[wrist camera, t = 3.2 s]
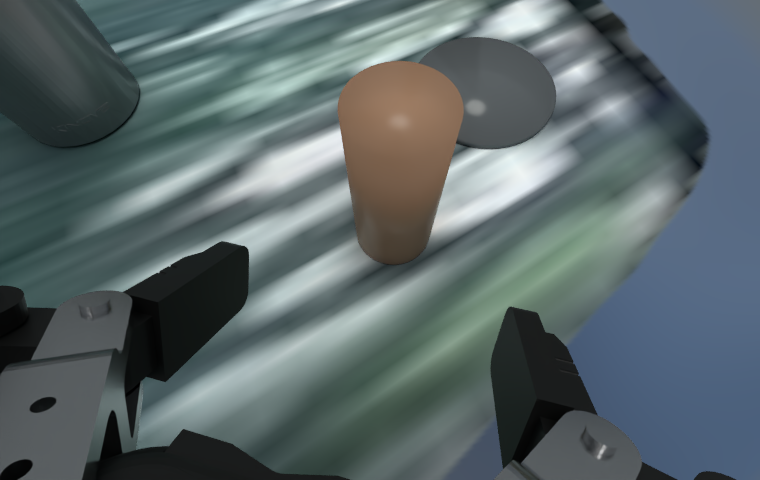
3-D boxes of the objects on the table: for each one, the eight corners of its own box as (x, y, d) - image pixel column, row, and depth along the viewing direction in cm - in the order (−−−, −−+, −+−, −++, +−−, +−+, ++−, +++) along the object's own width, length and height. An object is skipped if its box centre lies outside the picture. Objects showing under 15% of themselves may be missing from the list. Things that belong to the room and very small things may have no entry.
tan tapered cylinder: (342, 223, 26) (313, 96, 15) (399, 186, 28) (411, 44, 17) (385, 279, 25) (387, 180, 14) (444, 237, 26) (490, 116, 15)
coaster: (383, 81, 32) (383, 75, 31) (485, 25, 35) (487, 19, 34) (476, 174, 28) (478, 169, 27) (583, 103, 31) (586, 97, 30)
